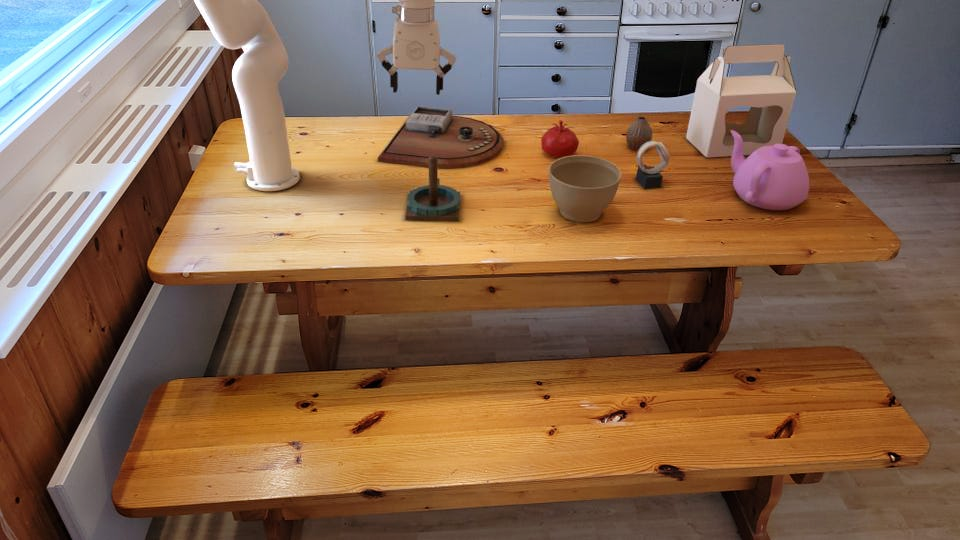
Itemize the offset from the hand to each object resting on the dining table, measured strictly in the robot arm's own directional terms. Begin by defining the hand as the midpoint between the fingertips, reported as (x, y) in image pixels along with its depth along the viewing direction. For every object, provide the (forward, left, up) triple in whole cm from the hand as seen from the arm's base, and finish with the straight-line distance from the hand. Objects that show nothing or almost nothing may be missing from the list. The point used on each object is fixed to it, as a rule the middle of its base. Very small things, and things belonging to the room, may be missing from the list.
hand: (416, 91), depth 160 cm
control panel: (+6, +26, -24) cm, 36 cm away
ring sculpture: (+57, +5, -24) cm, 62 cm away
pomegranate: (+36, +21, -24) cm, 48 cm away
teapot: (+83, 0, -24) cm, 86 cm away
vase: (+58, +26, -24) cm, 68 cm away
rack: (+4, -10, -24) cm, 26 cm away
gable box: (+85, +29, -24) cm, 93 cm away
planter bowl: (+38, -11, -24) cm, 46 cm away
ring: (+4, -9, -23) cm, 25 cm away
